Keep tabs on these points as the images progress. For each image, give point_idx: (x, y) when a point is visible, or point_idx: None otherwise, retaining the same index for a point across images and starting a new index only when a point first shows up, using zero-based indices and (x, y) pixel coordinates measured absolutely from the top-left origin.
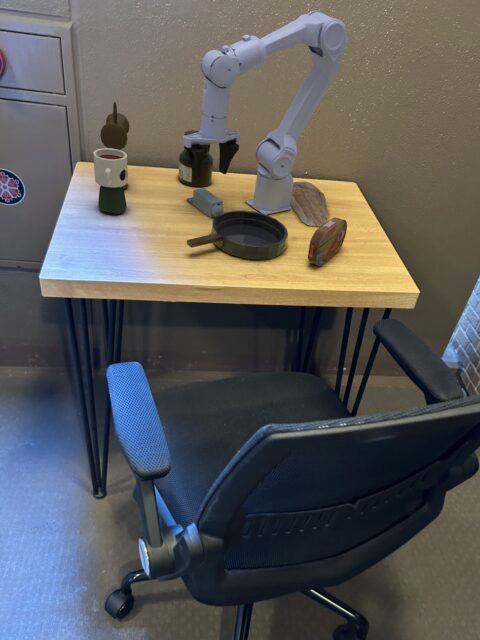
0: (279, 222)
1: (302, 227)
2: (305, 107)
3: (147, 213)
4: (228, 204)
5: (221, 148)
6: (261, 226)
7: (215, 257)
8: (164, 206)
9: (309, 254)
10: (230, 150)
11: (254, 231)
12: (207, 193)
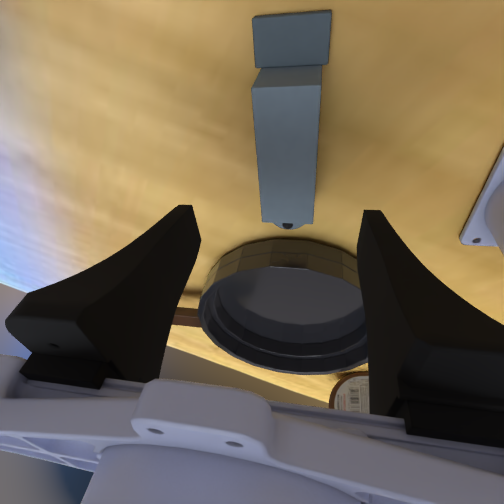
0: None
1: (487, 314)
2: None
3: (62, 80)
4: (418, 120)
5: (391, 324)
6: None
7: (191, 307)
8: (134, 41)
9: (329, 400)
10: (371, 406)
11: (334, 289)
12: (295, 149)
